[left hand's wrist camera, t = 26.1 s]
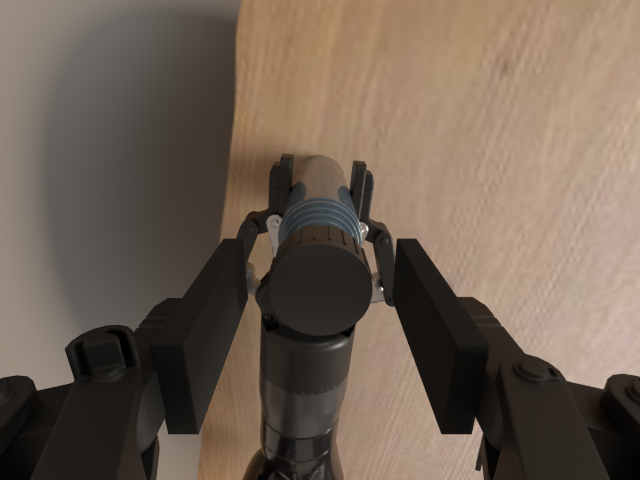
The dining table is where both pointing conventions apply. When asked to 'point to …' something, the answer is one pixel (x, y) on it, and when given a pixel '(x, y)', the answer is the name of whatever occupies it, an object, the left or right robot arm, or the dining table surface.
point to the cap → (320, 281)
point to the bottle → (320, 200)
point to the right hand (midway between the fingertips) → (323, 160)
